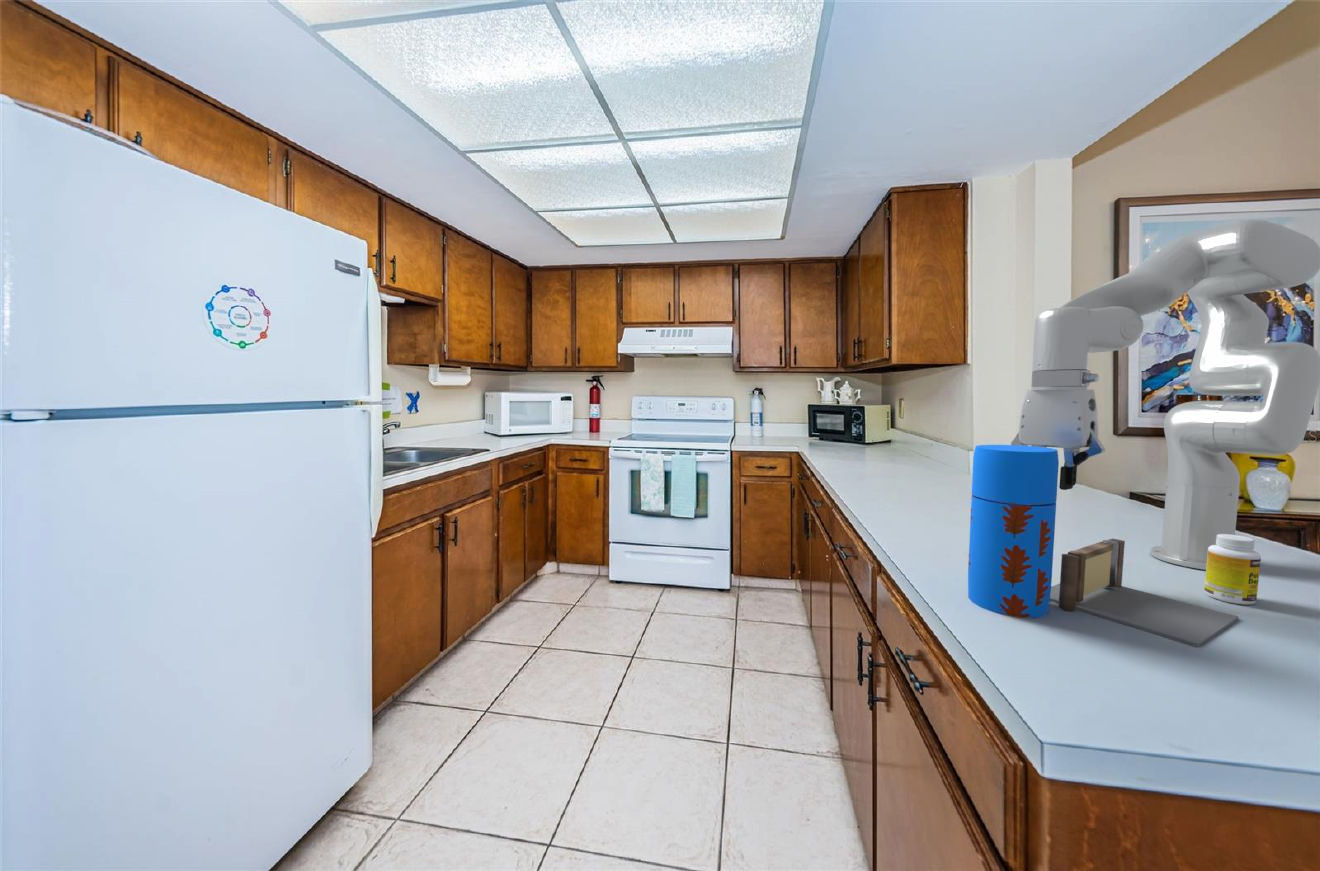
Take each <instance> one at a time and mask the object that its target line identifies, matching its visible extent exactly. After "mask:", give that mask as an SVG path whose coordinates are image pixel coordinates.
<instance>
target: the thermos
mask: <svg viewBox="0 0 1320 871" xmlns="http://www.w3.org/2000/svg"><path fill="white" fill-rule="evenodd" d="M973 452H974V453H973V459H972V475H971V476H972V479H971V499H970V500H971V501H970V504H971V505H970V521H969V522H970V524H969V525H970V526H969V542H968V544H969V545H968V547H969V548H968V568H967V586H968V587H967V589H968V590H967V591H968V592H967V593H968V599H969V600H970V601H971V602H972V603H973V604H974V605H976V606H978V607H980V608H982V609H985V610H986V611H990V612H992V613H993V612H994V613H996V614H999V615H1004V616H1008V617H1015V618H1030V619H1031V618H1032V619H1035V618H1041V617H1042V618H1043V617H1044V616H1046V615H1047V614H1048V613H1049V607H1050V602H1051V601H1050V593H1051V587H1052V581H1053V580H1052V579H1053V565H1054V564H1053V562H1054V546H1055V530H1056V511H1057V496H1058V495H1057V494H1058V483H1059V482H1058V481H1059V480H1058V479H1059V464H1060V463H1059V462H1060V460H1059V452H1058V448H1057V449H1056V448H1053V447H1047V448H1045V447H1035V446H1032V445H1028V446H1021V445H1011V444H980V445H979V444H978V445H975V447H974V451H973Z"/></svg>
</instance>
